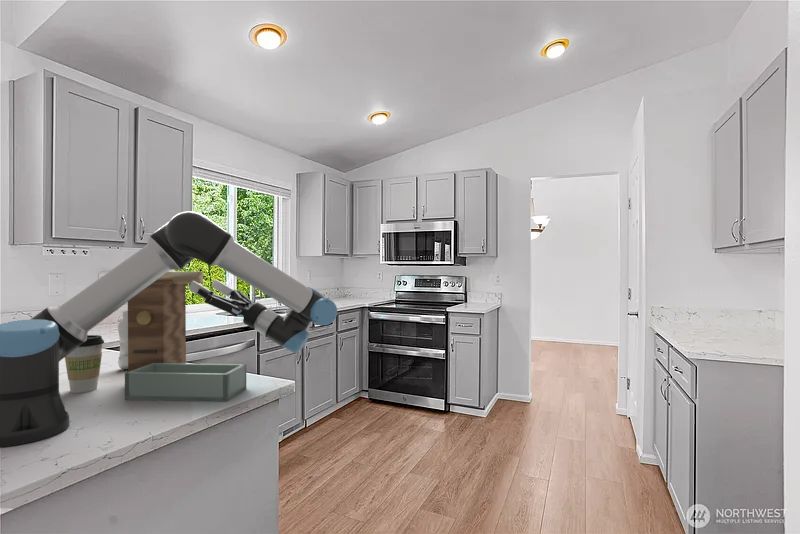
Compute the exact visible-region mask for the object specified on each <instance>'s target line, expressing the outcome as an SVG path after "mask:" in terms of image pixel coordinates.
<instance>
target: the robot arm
mask: <svg viewBox="0 0 800 534" xmlns="http://www.w3.org/2000/svg"><path fill="white" fill-rule="evenodd" d="M195 259H196V260H199V261H200V262H203V263H205V264H206V265H208V266H209V267H214V266H217V267H219V268H221V269H223V270H224V271H226V272H228V273H229V274H230V275H233V277H236V278H238V279H239V280H241V281H243V282H244V283H246V284H248V285H250V286H251V287H253V288H255V289H256V290H258V291H260V292H261V293H263V294H265V295H267V296H268V297H269V298H272V299H273V300H274V301H277V302H278V303H279V304H282V305H284V306H285V307H287V308H289V309H288V311H287V313H286V314H285V316H284V317H283V316H281V315H280V314H278V313H276V311H274V310H272V309H271V308H267V306H265V305H263V304H261V303H260V302H253V301H252V300H251V299H250V298H249V297H248V296H247V295H246V294H244V293H243V292H242V291H241V290H236V289H233V288H232V287H230V286H229V285H226V284H225V283H224V282H221V281H220V280H218V279H216V278H214V281H213V282H212V284H211V285H210V287H211V288H213V289H214V290H215V291H218V292H220V293H221V294H223V295H225V296H226V297H229V298H226V297H225V296H224V297H223V296H221V295H218V294H216V293H214V290H210V289H208V288H207V287H205V286H204V285H202V284H201V283H197V282H195V281H192V283H191V284H190V285H189V287H187V288H188V290H190V291H191V292H192V293H194V294H196V295H197V296H200V297H201V298H203V299H204V303H205V304H206V305H207V304H208V305H210V306H212V307H214V308H217V309H220V310H222V311H224V312H226V313H229V314H230V315H232V316H234V317H238V316H243V318H242V323H243V324H244V325H246V326H248V327H249V328H250V329H254V330H255V331H256V332H258V333H260V336H262V337H264V336H265V337H266V338H268V339H269V340H271V341H272V342H274V343H276V344H277V345H279V346H280V347H282V348H283V349H286V350H288V351H289V352H291V353H293V354H298V353H299V352H300V351H301V350H302V349H304V347H305V345H306V343H307V341H308V340H309V337H310V333H309V332H308V331H307V328H308V327H309V325H310V323H314V324H315V325H317V326H327V325H330V324H332V323H333V322H334V321H335V319H336V318H337V316H338V308H337V307H338V306H337V304H336V303H335V302H334V301H333V300H331V299H329V298H328V297H325V296H324V295H323V294H322V293H320V292H319V291H318V290H315V289H314V288H312V287H310V286H306V285H304V284H303V283H301V282H300V281H299V280H296V279H295V278H294V277H292V276H290V275H289V274H287V273H286V272H284V271H282V270H281V269H279V268H278V267H276V266H275V265H273V264H271V263H270V262H268V261H266V260H265V259H263V258H262V257H260V256H259V255H257V254H255V253H254V252H252V251H250V250H249V248H248V249H247V248H246V247H244V246H243V245H241V244H240V243H238V242H237V241H235V239H234V235H233V234H232V233H230V232H229V231H227V230H225V229H224V228H223V227H221V226H220V225H218V224H217V223H215V222H214V221H213V220H211V218H209V217H207V216H206V215H204V214H203V213H201V212H196V211H190V210H188V211H181V212H179V213H176V215H174V216H172V217H171V218H170V219H169V221H168V222H167V223H165V224H164V225H162V226H161V227H160V228H158V229H156V230H155V231H154V232H153V233H151V234H150V235H148V237H147V243H146V245H145V246H143V247H142V248H141V249H139V250H138V251H137V252H135V253H133V254H132V255H131V256H128V258H126V259H125V260H124V261H122V262H120V264H118V265H116V266H115V267H114V268H112V269H111V270H109V271H108V272H107V273H105V274H104V275H102V276H101V277H100V278H98V279H97V280H95V281H94V282H92V283H91V284H90V285H88V286H87V287H85V288H84V289H83V290H81V291H80V292H79V293H77V294H76V295H74V296H73V297H71V298H70V299H69V300H67V301H66V302H64V303H63V304H62V305H59V306H56V305H55V306H54V305H53V306H52V305H51V306H50V305H49V306H47V307H46V308H44V309H42V311H41V312H39V313H37V314H36V315H34V316H33V317H32V318H30V319H21V320H12V321H8V322H3V323H0V448H3V447H10V446H18V445H23V444H28V443H32V442H36V441H40V440H45V439H46V438H50V437H53V436H56V435H57V434H59V433H62V432H64V431H65V430H67V429H68V428H69V426H70V414H69V413H68V411H67V410H66V408H65V404H64V402H63V399H62V395H61V393H60V361H62V360H63V359H65V357H66V356H67V355H68V354H70V353H71V352H72V351H73V350H75V349H76V348H77V347H79V346H80V345H81V344H83V343H84V342H85V341H86V340H87V335H88V332H89V331H92V329H93V328H95V327H96V326H97V325H98V324H100V323H101V322H103V321H104V320H106V318H108V317H110V316H111V315H112V314H114V313H115V312H116V311H117V310H119V309H120V308H121V307H123V306H124V305H125V304H128V301H129V300H131V299H132V298H133V297H135V296H136V295H137V294H139V293H140V292H141V291H143V290H144V289H145V288H147V287H148V286H149V285H151V284H152V283H153V282H155V281H156V280H157V279H159V278H160V277H161V276H163V275H164V274H165V273H167V272H168V271H181V270H182V269H183V268H184V267H185V266H187V265H188V264H189V263H191V262H192V261H194V260H195Z"/></svg>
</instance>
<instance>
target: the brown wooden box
mask: <svg viewBox="0 0 800 534" xmlns="http://www.w3.org/2000/svg"><path fill="white" fill-rule="evenodd" d="M188 285H189V284H172V280H156V281H155V282H153V283H152V284H151V285H149V286H148V287H147V288H145V289H144V290H143V291H141V292H140V293H139V294H137V295H136V296H135V297H133V298H132V299H131V300H129V301H128V302H127V310H128V371H127V372H129V371H132V370H135V369H138V368H140V367H143V366H146V365H149V364H152V363H186V364H187V353H186V352H187V351H186V350H187V342H186V340H187V339H186V338H187V337H186V336H187V335H186V333H187V331H186V330H187V329H186V325H187V324H186V322H187V321H186V318H187V317H186V316H187V315H186V313H187V312H186V305H187V304H186V287H187V286H188Z"/></svg>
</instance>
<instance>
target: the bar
mask: <svg viewBox="0 0 800 534" xmlns="http://www.w3.org/2000/svg"><path fill="white" fill-rule="evenodd" d="M157 280H172V284H188V285H189V284H191V283H192V281H195V282H197V283H199V284H204V271H202V270H201V271H199V270H198V271H193V270H192V271H189V270H188V271H187V270H185V271H181V270H169V271H168V272H167V273H165V274H164V275H163V276H161V277H160V278H159V279H157Z"/></svg>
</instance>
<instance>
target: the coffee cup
mask: <svg viewBox="0 0 800 534" xmlns="http://www.w3.org/2000/svg"><path fill="white" fill-rule="evenodd" d="M104 344H105V341H104V339H103V337H102V335H100V334H99V335H98V334H90V335H89V334H87V340H86V341H85V342H84V343H83V344H81V345H80V346H79V347H77V348H76V349H75V350H73V351H72V352H71V353H70V354H68V355H67V356H66V357H64V362H65V368H66V373H67V380H68V383H69V392H70V393H73V394H82V393H89V392H93V391H95V390H97V389H98V381H99V376H100V371H101V365H102V364H101V363H102V357H103V352H102V350H103V345H104Z"/></svg>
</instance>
